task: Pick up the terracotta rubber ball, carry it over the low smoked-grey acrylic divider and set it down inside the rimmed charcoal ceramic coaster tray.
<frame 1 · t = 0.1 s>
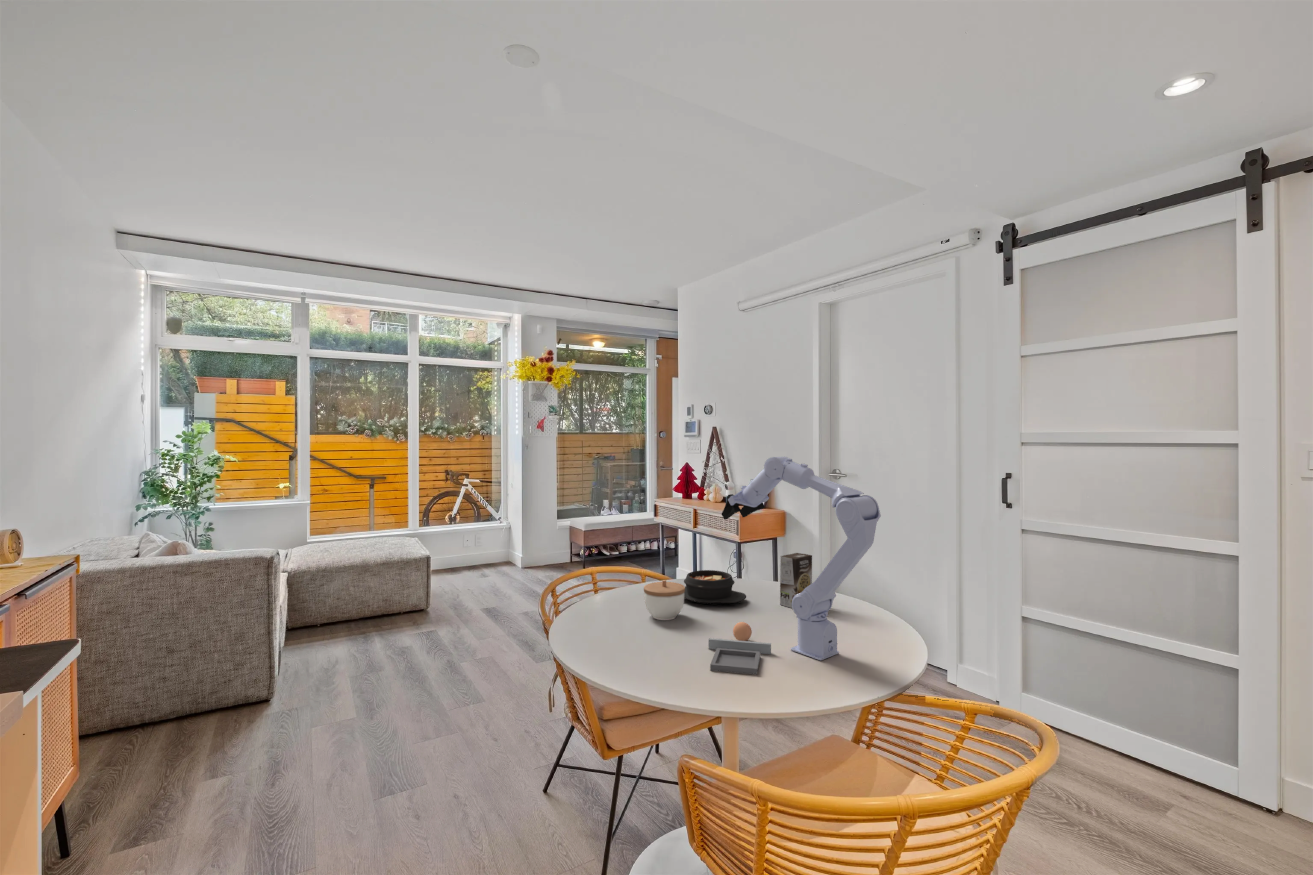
hand: (732, 515, 175), 32 cm above the table, tool tilted 50°, fingers open, 7 cm apart
casserole: (709, 600, 200), on the table
ball: (742, 640, 162), on the table
lidded bowl: (664, 617, 183), on the table
coaster: (735, 663, 146), on the table
divider: (739, 650, 155), on the table
coffee box: (796, 605, 195), on the table
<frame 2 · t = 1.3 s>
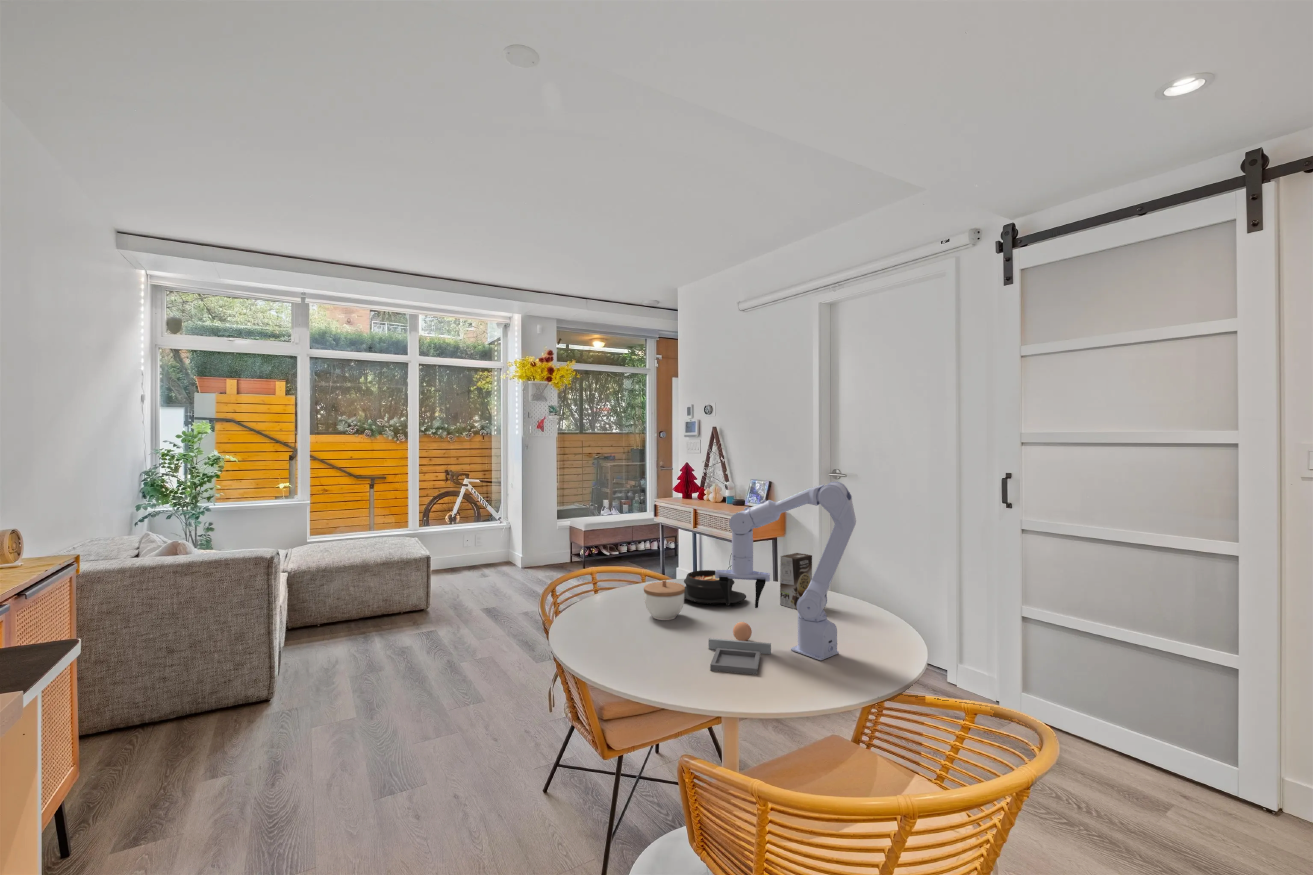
hand: (742, 605, 162), 9 cm above the table, tool pointing down, fingers open, 7 cm apart
nothing on the table moved.
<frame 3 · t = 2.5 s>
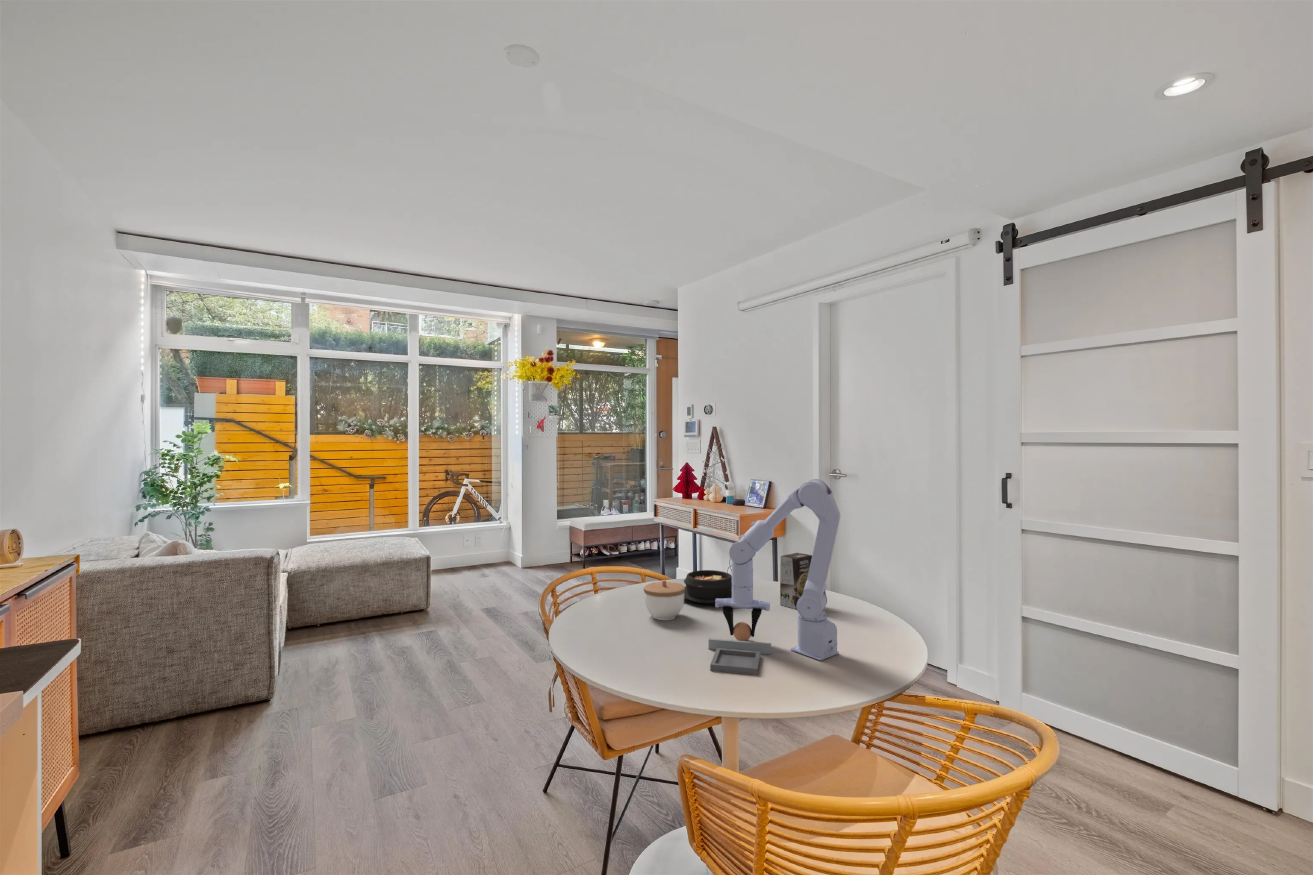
hand: (742, 634, 162), 2 cm above the table, tool pointing down, fingers closed on ball, 5 cm apart
ball: (742, 640, 162), on the table, touching gripper
everything else where it was.
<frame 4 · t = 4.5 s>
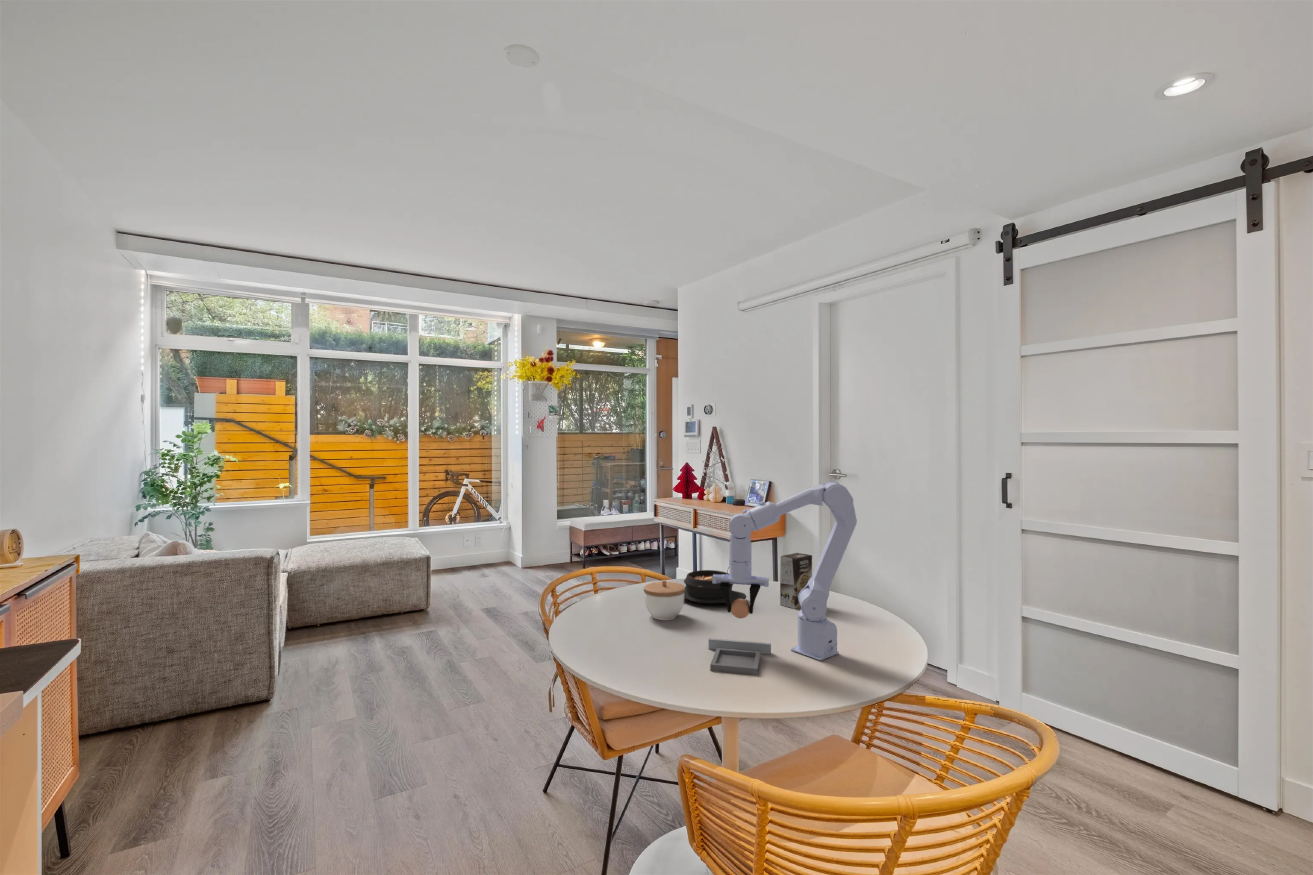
hand: (740, 611, 157), 9 cm above the table, tool pointing down, fingers closed on ball, 5 cm apart
ball: (740, 617, 157), point 8 cm above the table, touching gripper
everything else where it was.
when the fingers open (4 cm above the table, at t = 6.7 s): ball drops 2 cm, resting on coaster.
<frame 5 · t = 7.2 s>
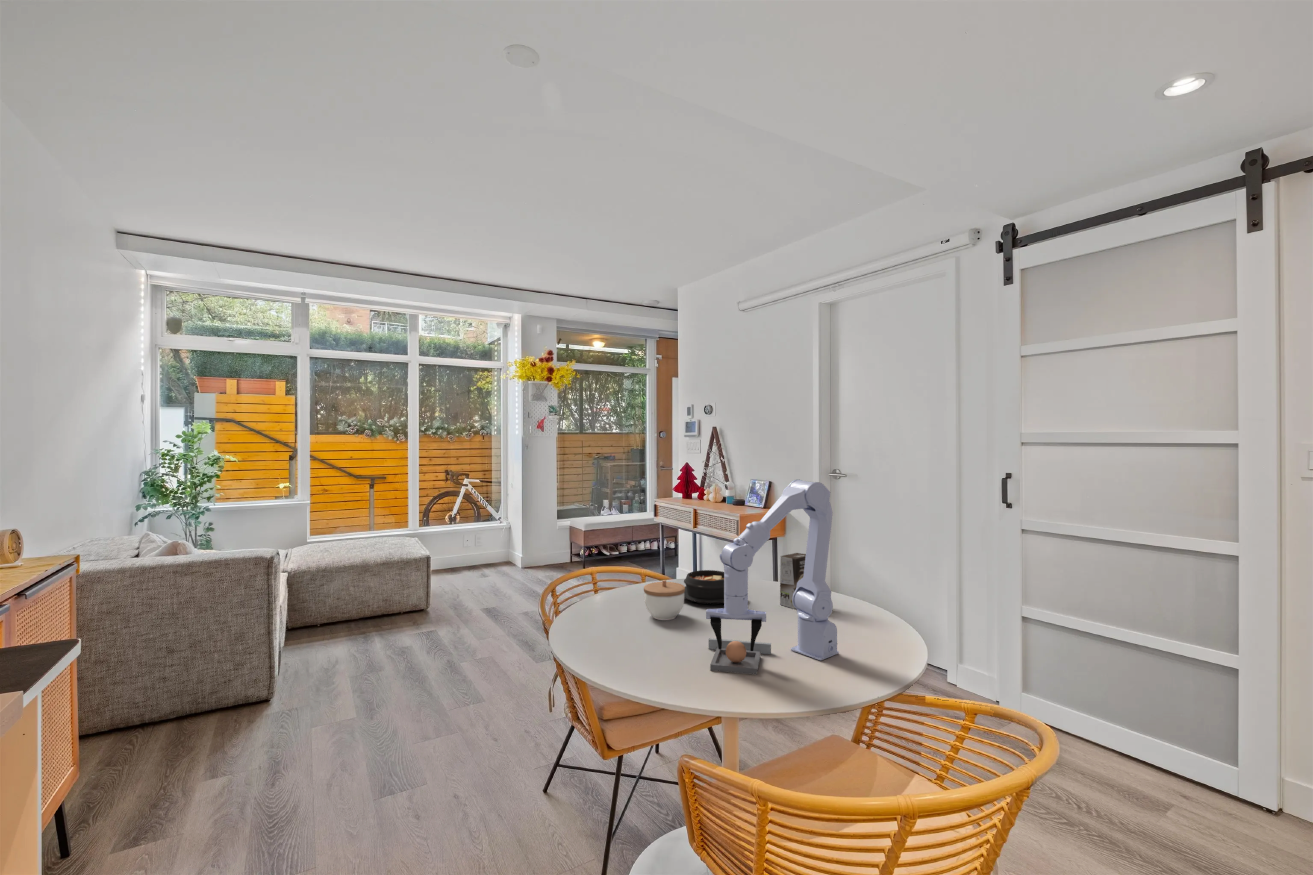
hand: (735, 648, 146), 4 cm above the table, tool pointing down, fingers open, 7 cm apart
ball: (735, 661, 146), resting on coaster
everything else where it was.
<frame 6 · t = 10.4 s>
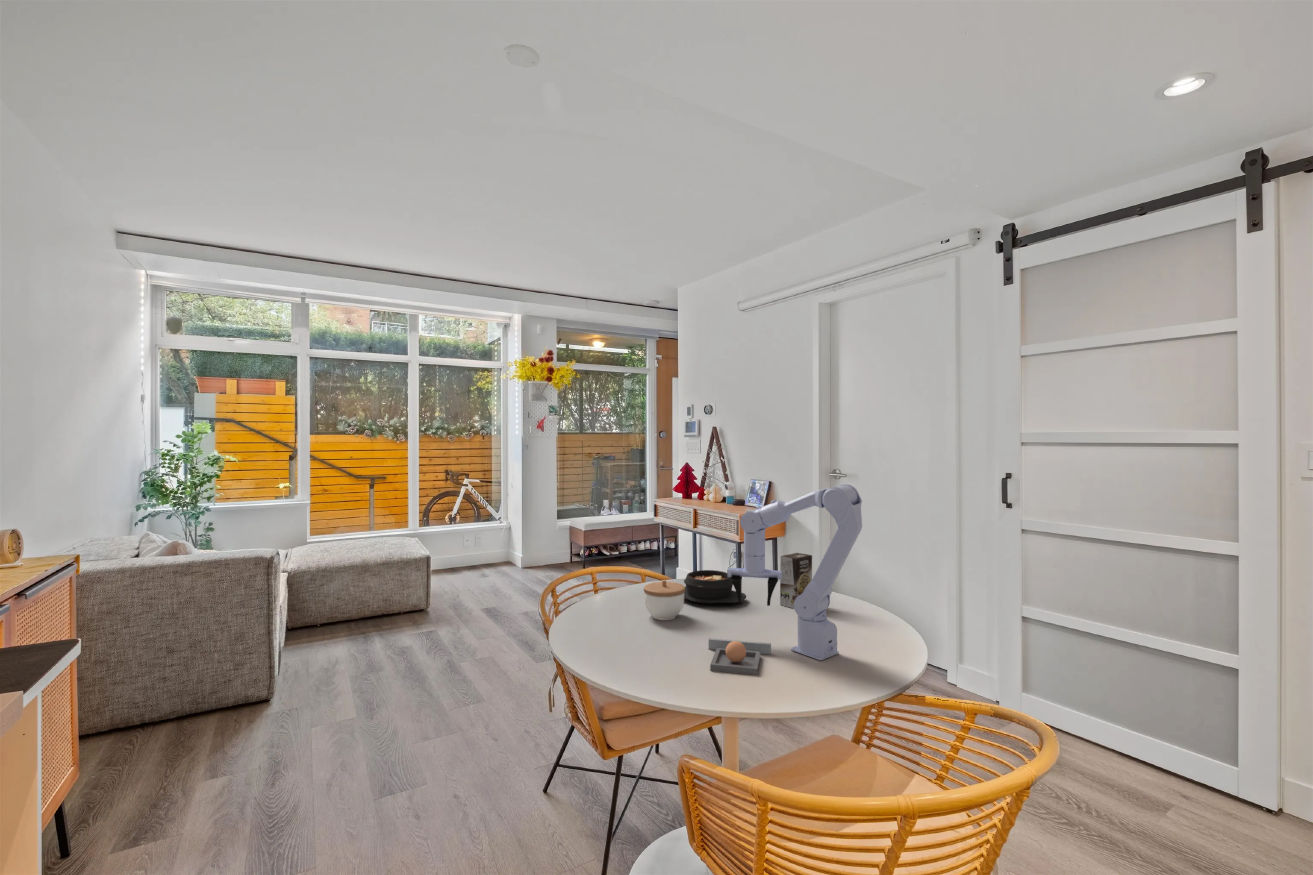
hand: (754, 603, 164), 9 cm above the table, tool pointing down, fingers open, 7 cm apart
nothing on the table moved.
at the end: ball 0.0 cm off-centre on the coaster, point 0.4 cm above the coaster's base; the gripper is holding nothing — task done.
